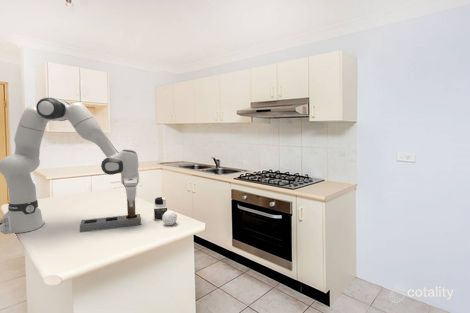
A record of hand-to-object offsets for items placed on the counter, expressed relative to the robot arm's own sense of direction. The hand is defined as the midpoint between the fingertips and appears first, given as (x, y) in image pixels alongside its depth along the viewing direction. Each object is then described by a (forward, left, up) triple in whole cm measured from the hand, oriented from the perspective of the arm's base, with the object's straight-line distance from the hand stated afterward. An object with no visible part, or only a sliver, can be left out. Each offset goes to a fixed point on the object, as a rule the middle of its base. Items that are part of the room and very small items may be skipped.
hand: (131, 205), depth 155 cm
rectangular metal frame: (-6, -8, -10) cm, 14 cm away
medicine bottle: (+8, +14, -10) cm, 19 cm away
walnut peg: (0, 0, -6) cm, 6 cm away
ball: (+20, +8, -10) cm, 24 cm away
